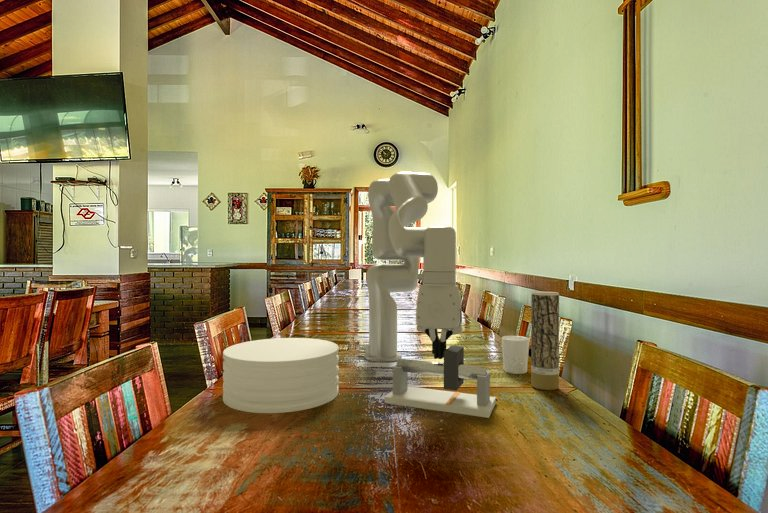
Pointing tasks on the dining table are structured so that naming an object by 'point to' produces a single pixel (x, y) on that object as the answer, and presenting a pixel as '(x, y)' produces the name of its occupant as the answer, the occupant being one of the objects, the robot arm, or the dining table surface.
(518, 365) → the white cup
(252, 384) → the plate stack
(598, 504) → the dining table surface
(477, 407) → the pipe stand
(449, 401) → the orange strap
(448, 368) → the collar
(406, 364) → the pipe
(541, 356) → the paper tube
